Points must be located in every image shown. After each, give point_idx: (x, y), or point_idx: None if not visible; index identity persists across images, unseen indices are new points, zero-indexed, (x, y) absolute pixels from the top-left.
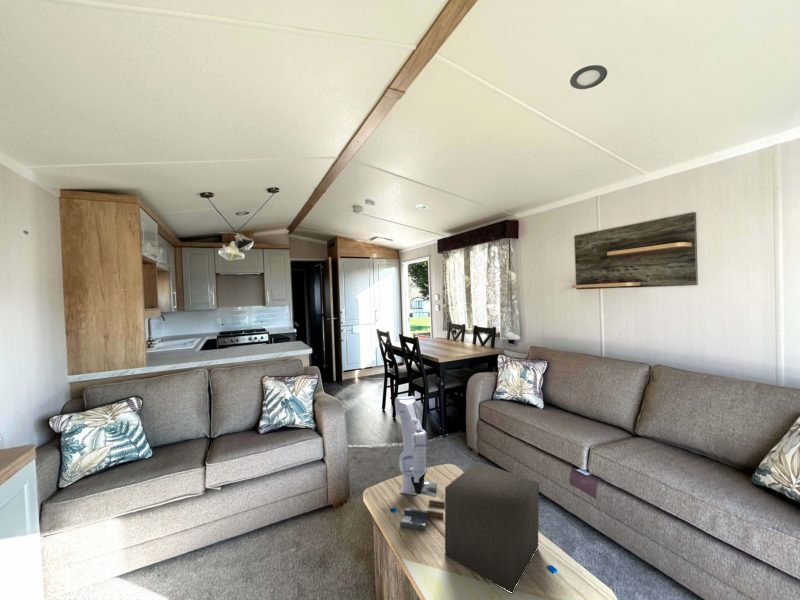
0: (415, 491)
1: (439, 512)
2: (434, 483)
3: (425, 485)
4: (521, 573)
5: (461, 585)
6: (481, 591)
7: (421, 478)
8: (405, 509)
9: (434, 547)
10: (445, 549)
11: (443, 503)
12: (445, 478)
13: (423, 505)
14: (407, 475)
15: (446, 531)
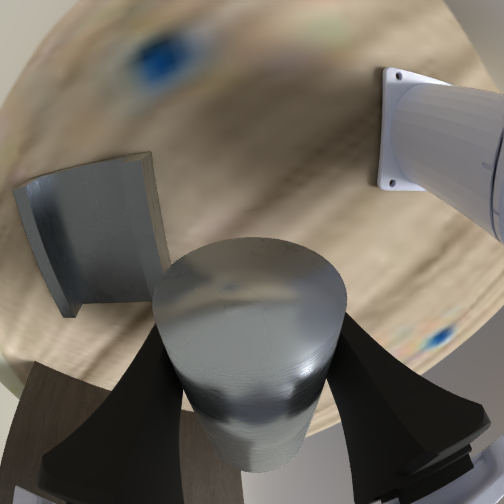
0: (147, 340)
1: None
2: (265, 467)
3: (219, 441)
4: None
5: (6, 380)
6: None
7: (347, 406)
8: (124, 172)
9: (34, 337)
10: (30, 375)
11: None
12: (480, 291)
13: None
14: (495, 153)
15: (12, 426)
